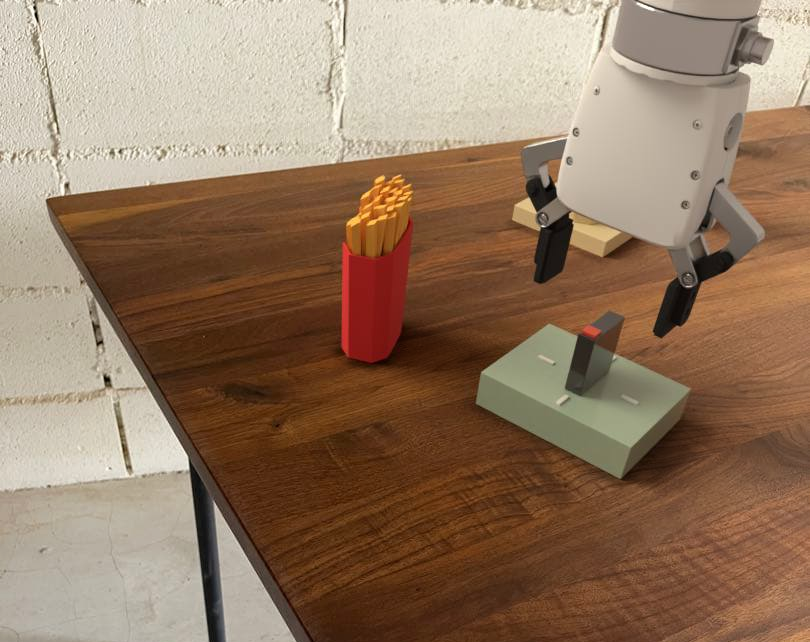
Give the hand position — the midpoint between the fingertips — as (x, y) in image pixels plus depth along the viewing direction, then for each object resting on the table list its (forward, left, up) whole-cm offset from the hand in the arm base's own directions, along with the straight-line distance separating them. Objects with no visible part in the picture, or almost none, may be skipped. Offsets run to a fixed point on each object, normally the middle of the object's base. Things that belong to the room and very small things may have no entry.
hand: (605, 302), depth 63 cm
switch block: (+17, -29, -10) cm, 35 cm away
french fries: (+18, +4, -10) cm, 21 cm away
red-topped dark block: (0, 0, -7) cm, 7 cm away
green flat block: (0, 0, -10) cm, 10 cm away
